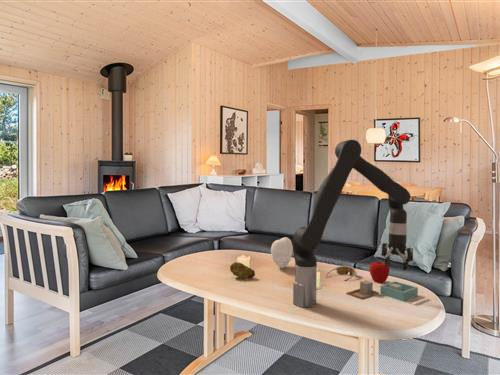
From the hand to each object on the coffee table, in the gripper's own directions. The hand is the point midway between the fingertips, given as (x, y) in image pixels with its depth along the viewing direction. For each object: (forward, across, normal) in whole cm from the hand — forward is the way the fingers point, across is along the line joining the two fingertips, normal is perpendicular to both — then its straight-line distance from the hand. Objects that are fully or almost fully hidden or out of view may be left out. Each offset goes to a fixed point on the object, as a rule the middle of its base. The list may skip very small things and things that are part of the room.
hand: (396, 268), depth 176 cm
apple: (+14, -18, +14) cm, 26 cm away
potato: (+15, -66, -38) cm, 77 cm away
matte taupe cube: (+13, 0, 0) cm, 13 cm away
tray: (+14, -11, -9) cm, 20 cm away
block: (+13, -11, -6) cm, 18 cm away
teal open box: (+14, 0, +3) cm, 14 cm away
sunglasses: (+14, -35, +5) cm, 38 cm away
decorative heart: (+14, -68, -8) cm, 70 cm away
